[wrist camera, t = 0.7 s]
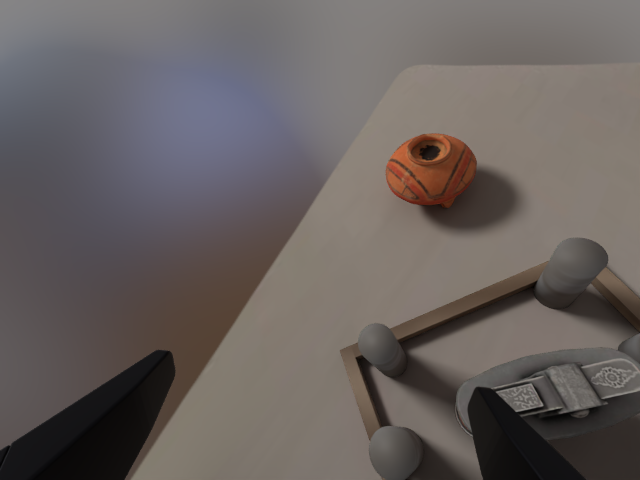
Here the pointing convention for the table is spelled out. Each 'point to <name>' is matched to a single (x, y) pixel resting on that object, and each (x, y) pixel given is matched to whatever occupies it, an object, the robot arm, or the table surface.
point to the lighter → (562, 390)
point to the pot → (431, 169)
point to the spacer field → (549, 289)
